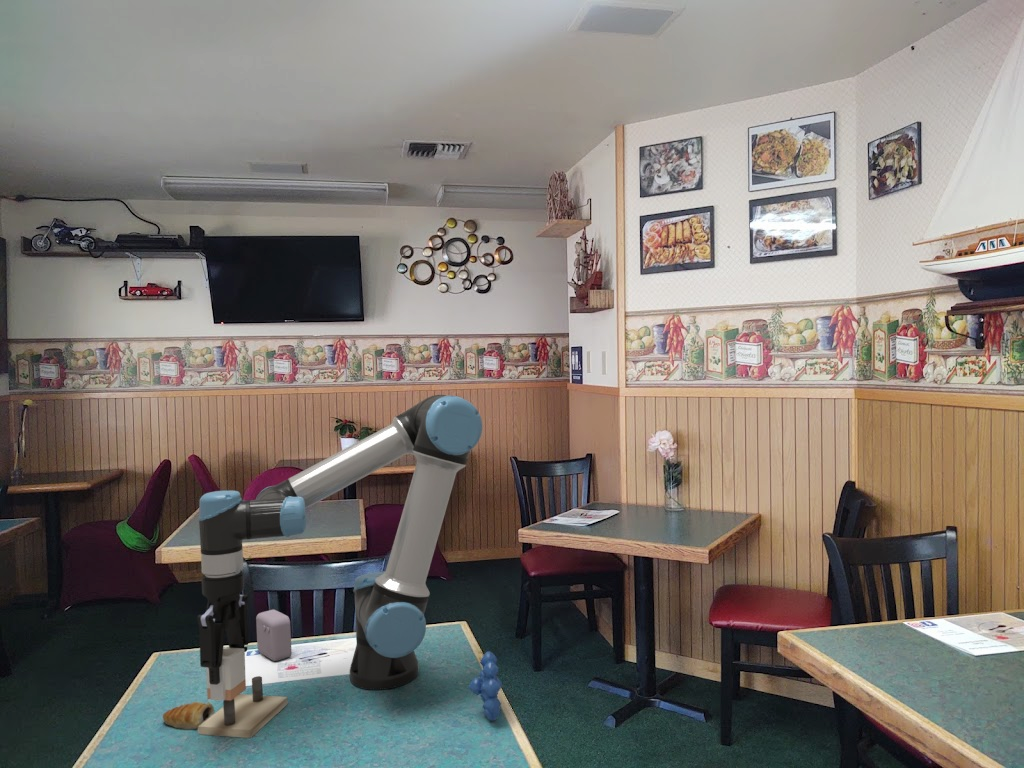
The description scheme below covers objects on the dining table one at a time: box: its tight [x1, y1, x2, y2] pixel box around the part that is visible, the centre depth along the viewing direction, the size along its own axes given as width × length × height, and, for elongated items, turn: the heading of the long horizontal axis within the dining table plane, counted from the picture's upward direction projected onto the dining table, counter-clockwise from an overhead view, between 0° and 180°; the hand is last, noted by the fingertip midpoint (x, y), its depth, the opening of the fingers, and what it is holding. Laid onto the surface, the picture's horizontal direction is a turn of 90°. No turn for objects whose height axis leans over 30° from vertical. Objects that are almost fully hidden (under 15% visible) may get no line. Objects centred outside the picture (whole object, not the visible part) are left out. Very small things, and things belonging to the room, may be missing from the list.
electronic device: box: [255, 608, 292, 662], centre depth 181 cm, size 10×5×10 cm, turn 43°
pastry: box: [162, 701, 215, 730], centre depth 148 cm, size 9×7×4 cm
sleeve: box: [205, 646, 247, 700], centre depth 143 cm, size 5×5×8 cm
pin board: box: [197, 675, 288, 739], centre depth 148 cm, size 11×14×6 cm
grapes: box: [468, 650, 504, 722], centre depth 146 cm, size 12×7×12 cm, turn 6°
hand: (227, 692), depth 143 cm, fingers closed on sleeve, 5 cm apart
